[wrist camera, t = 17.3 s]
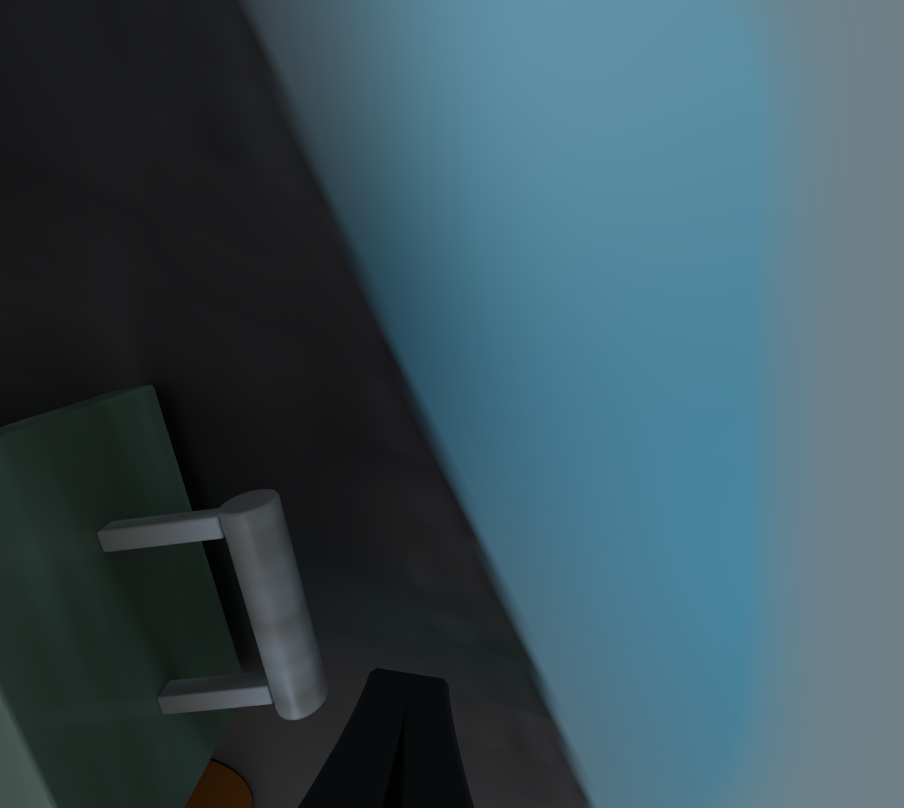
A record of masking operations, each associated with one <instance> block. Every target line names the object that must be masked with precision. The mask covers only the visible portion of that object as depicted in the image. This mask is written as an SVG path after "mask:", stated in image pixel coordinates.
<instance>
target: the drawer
mask: <svg viewBox="0 0 904 808" xmlns="http://www.w3.org/2000/svg"><path fill="white" fill-rule="evenodd" d="M223 537H226V540H227V544H228V547H229V551H230V554H231V557H232V561H233V564H234V568H235V571H236V574H237V578H238V581H239V585H240V588H241V591H242V595H243V598H244V602H245V605H246V608H247V612H248V615H249V619H250V622H251V625H252V629H253V632H254V635H255V639H256V642H257V646H258V649H259V652H260V656H261V659H262V663H263V666H264V669H265V671H257V672H248V673H242V670H241V667H240V664H239V660H238V657H237V654H236V651H235V647H234V644H233V641H232V638H231V635H230V631H229V628H228V625H227V622H226V618H225V615H224V612H223V609H222V605H221V602H220V599H219V596H218V593H217V589H216V586H215V583H214V580H213V576H212V573H211V570H210V567H209V563H208V560H207V557H206V554H205V551H204V547H203V544H202V541H205V540H213V539H221V538H223ZM327 693H328V683H327V679H326V675H325V671H324V667H323V663H322V659H321V656H320V652H319V648H318V644H317V640H316V636H315V632H314V628H313V624H312V620H311V617H310V613H309V609H308V605H307V601H306V597H305V593H304V589H303V585H302V582H301V578H300V574H299V570H298V566H297V562H296V558H295V554H294V550H293V546H292V543H291V539H290V535H289V531H288V527H287V523H286V519H285V515H284V511H283V507H282V504H281V500H280V496H279V494H278V492H277V491H275V490H272V489H261V490H254V491H250V492H246V493H243V494H240V495H238V496H236V497H234V498H232V499H230V500H228V501H227V502H225V503H224V504H223V505H222V506H221V507H220V508H215V509H207V510H199V511H192V509H191V505H190V502H189V499H188V496H187V492H186V489H185V486H184V483H183V480H182V476H181V473H180V470H179V467H178V463H177V460H176V457H175V454H174V450H173V447H172V444H171V441H170V438H169V434H168V431H167V428H166V425H165V421H164V418H163V415H162V412H161V408H160V405H159V402H158V399H157V396H156V392H155V389H154V387H153V386H152V385H145V386H138V387H131V388H124V389H117V390H114V391H111V392H108V393H105V394H102V395H99V396H96V397H93V398H89V399H86V400H83V401H80V402H77V403H74V404H71V405H68V406H65V407H61V408H58V409H55V410H52V411H49V412H46V413H43V414H40V415H37V416H33V417H30V418H27V419H24V420H21V421H18V422H15V423H12V424H9V425H5V426H2V427H0V808H185V806H186V804H187V802H188V800H189V798H190V796H191V794H192V792H193V790H194V789H195V787H196V785H197V783H198V781H199V779H200V777H201V775H202V773H203V772H204V770H205V768H206V766H207V764H208V762H209V760H210V758H211V756H212V754H213V753H214V751H215V749H216V747H217V745H218V743H219V741H220V739H221V737H222V735H223V734H224V732H225V730H226V728H227V726H228V724H229V722H230V720H231V718H232V717H233V715H234V713H235V711H236V709H237V707H246V706H256V705H267V704H272V703H273V701H274V703H275V707H276V710H277V712H278V714H279V715H280V716H281V717H283V718H284V719H287V720H298V719H302V718H304V717H307V716H309V715H310V714H312V713H313V712H315V711H316V710H317V709H318V708H319V707H320V706H321V705H322V704H323V702H324V701H325V699H326V697H327Z"/></svg>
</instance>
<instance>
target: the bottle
mask: <svg viewBox="0 0 904 808" xmlns="http://www.w3.org/2000/svg"><path fill="white" fill-rule="evenodd" d="M185 808H253V799H252V795H251V792H250V790H249V788H248V786H247V784H246V783H245V782H244V780H243V779H242V778H241V777H240V776H239V775H238V774H236V773H235V772H234V771H233V770H231V769H229V768H228V767H226V766H224V765H222V764H220V763H217V762H215V761H211V760H209V762H208V764H207V766H206V768H205V770H204V772H203V773H202V775H201V777H200V779H199V781H198V783H197V785H196V787H195V789H194V790H193V792H192V794H191V796H190V798H189V800H188V802H187V804H186V806H185Z"/></svg>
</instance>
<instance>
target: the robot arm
mask: <svg viewBox="0 0 904 808" xmlns="http://www.w3.org/2000/svg"><path fill="white" fill-rule="evenodd" d="M298 808H474V806H473V802H472V799H471V795H470V792H469V788H468V784H467V781H466V777H465V773H464V769H463V765H462V761H461V757H460V752H459V748H458V743H457V738H456V734H455V729H454V724H453V718H452V712H451V706H450V698H449V688H448V684H447V683H446V681H445V680H444V679H442V678H436V677H429V676H423V675H417V674H410V673H404V672H398V671H392V670H385V669H379V668H376V669H375V670H373V671H371V672H370V673H369V676H368V679H367V682H366V685H365V687H364V689H363V692H362V694H361V696H360V699H359V701H358V703H357V705H356V707H355V709H354V711H353V713H352V715H351V717H350V719H349V721H348V723H347V725H346V727H345V729H344V731H343V732H342V734H341V736H340V738H339V740H338V742H337V743H336V745H335V747H334V749H333V750H332V752H331V754H330V755H329V757H328V759H327V761H326V762H325V764H324V766H323V767H322V769H321V771H320V772H319V774H318V776H317V778H316V779H315V781H314V783H313V784H312V786H311V788H310V789H309V791H308V792H307V794H306V796H305V797H304V799H303V800H302V802H301V803H300V805H299V806H298Z"/></svg>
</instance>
